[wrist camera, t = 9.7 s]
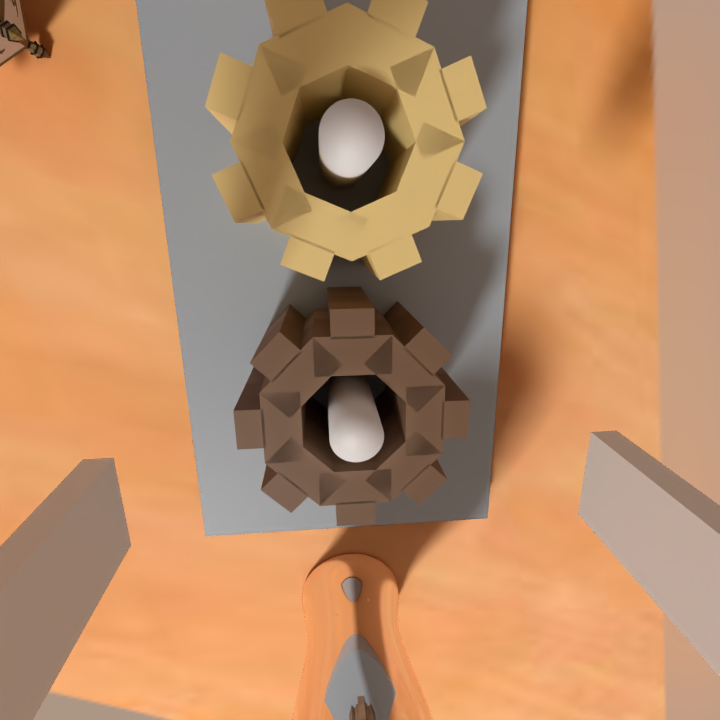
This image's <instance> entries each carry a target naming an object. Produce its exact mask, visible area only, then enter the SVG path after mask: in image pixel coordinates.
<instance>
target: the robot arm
mask: <svg viewBox="0 0 720 720" xmlns="http://www.w3.org/2000/svg"><path fill="white" fill-rule="evenodd" d="M578 514H579V516H580V517H581V518H582V519H583V520H584V521H585V523H586V524H587V525H588V526H589V527H590V528H591V529H592V531H593V532H594V533H595V534H596V535H597V536H598V537H599V539H600V540H601V541H602V542H603V543H604V544H605V546H606V547H607V548H608V549H609V550H610V551H611V552H612V554H613V555H614V556H615V557H616V558H617V559H618V560H619V562H620V563H621V564H622V565H623V566H624V567H625V568H626V570H627V571H628V572H629V573H630V574H631V575H632V577H633V578H634V579H635V580H636V581H637V582H638V583H639V585H640V586H641V587H642V588H643V589H644V590H645V591H646V593H647V594H648V595H649V596H650V597H651V598H652V599H653V601H654V602H655V603H656V604H657V605H658V606H659V608H660V609H661V610H662V611H663V612H664V613H665V614H666V616H667V617H668V618H669V619H670V620H671V621H672V622H673V624H674V625H675V626H676V627H677V628H678V629H679V631H680V632H681V633H682V634H683V635H684V636H685V637H686V639H687V640H688V641H689V642H690V643H691V644H692V645H693V647H694V648H695V649H696V650H697V651H698V652H699V653H700V655H701V656H702V657H703V658H704V659H705V660H706V662H707V663H708V664H709V665H710V666H711V667H712V668H713V670H714V671H715V672H716V673H717V674H718V675H719V676H720V505H718V504H717V503H716V502H714V501H713V500H711V499H710V498H708V497H707V496H706V495H704V494H703V493H702V492H700V491H699V490H697V489H696V488H695V487H693V486H692V485H691V484H689V483H688V482H686V481H685V480H684V479H682V478H681V477H680V476H678V475H677V474H675V473H674V472H673V471H671V470H670V469H669V468H667V467H666V466H664V465H663V464H662V463H660V462H659V461H658V460H656V459H655V458H653V457H652V456H651V455H649V454H648V453H646V452H645V451H644V450H642V449H641V448H640V447H638V446H637V445H635V444H634V443H633V442H631V441H630V440H629V439H627V438H626V437H624V436H623V435H622V434H620V433H619V432H617V431H604V432H591V436H590V442H589V448H588V455H587V461H586V467H585V474H584V480H583V486H582V493H581V499H580V505H579V511H578ZM130 546H131V543H130V538H129V533H128V528H127V523H126V518H125V513H124V508H123V503H122V498H121V493H120V488H119V483H118V478H117V473H116V468H115V463H114V458H103V459H84V460H82V461H81V462H80V463H79V464H78V465H77V466H76V467H75V469H74V470H73V471H72V472H71V473H70V474H69V475H68V476H67V477H66V478H65V479H64V480H63V481H62V482H61V483H60V484H59V485H58V486H57V487H56V489H55V490H54V491H53V492H52V493H51V494H50V495H49V496H48V497H47V498H46V499H45V500H44V501H43V502H42V503H41V504H40V505H39V506H38V507H37V509H36V510H35V511H34V512H33V513H32V514H31V515H30V516H29V517H28V518H27V519H26V520H25V521H24V522H23V523H22V524H21V525H20V526H19V527H18V528H17V530H16V531H15V532H14V533H13V534H12V535H11V536H10V537H9V538H8V539H7V540H6V541H5V542H4V543H3V544H2V545H1V546H0V720H33V719H34V717H35V715H36V713H37V711H38V710H39V708H40V706H41V704H42V703H43V701H44V699H45V697H46V695H47V694H48V692H49V690H50V688H51V687H52V685H53V683H54V681H55V679H56V678H57V676H58V674H59V672H60V670H61V669H62V667H63V665H64V663H65V662H66V660H67V658H68V656H69V654H70V653H71V651H72V649H73V647H74V646H75V644H76V642H77V640H78V638H79V637H80V635H81V633H82V631H83V629H84V628H85V626H86V624H87V622H88V621H89V619H90V617H91V615H92V613H93V612H94V610H95V608H96V606H97V605H98V603H99V601H100V599H101V597H102V596H103V594H104V592H105V590H106V588H107V587H108V585H109V583H110V581H111V580H112V578H113V576H114V574H115V572H116V571H117V569H118V567H119V565H120V564H121V562H122V560H123V558H124V556H125V555H126V553H127V551H128V549H129V547H130Z"/></svg>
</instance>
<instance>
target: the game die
mask: <svg viewBox="0 0 720 720" xmlns="http://www.w3.org/2000/svg"><path fill="white" fill-rule="evenodd" d="M24 49H28V50H29V51H30V52H31V54H32V55H33V54H34V55H35V56H37V58H50V56H49V55H48V54H47V52H46V51H45V49H44V47H43V45H39V44H37V42H36V41H34V42H32V41H29V39H28V33H27V28H26V22H25V17H24V11H23V5H22V0H0V66H2V65H3V64H4V63H6V62H7V61H9V60H10V59H12V58H13V57H14V56H16V55H17V54H19V53H20V52H21V51H23V50H24Z"/></svg>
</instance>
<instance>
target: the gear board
mask: <svg viewBox="0 0 720 720" xmlns="http://www.w3.org/2000/svg"><path fill="white" fill-rule="evenodd" d="M371 1H372V0H323V2H324V4H325V7H326V9H327V12H328V11H330V10H332V9H334V8H336V7H339V6H341V5H343V4H345V3H349V4H351V5H353V6H355V7H357V8H359V9H361V10H363V11H365V12H368V9H369V6H370V3H371ZM426 1H428V5H427V7H426V10H425V13H424V15H423V18H422V21H421V23H420V26H419V29H418V31H417V34H416V38H418V39H420V40H422V41H424V42H426V43H428V44H430V45H432V46H434V47H435V50H436V53H437V57H438V60H439V63H440V66H441V69H442V68H445V67H447V66H449V65H451V64H453V63H455V62H458V61H460V60H462V59H464V58H466V57H468V56H471V57H472V60H473V64H474V67H475V70H476V74H477V77H478V80H479V84H480V87H481V90H482V94H483V97H484V100H485V103H486V107H487V108H486V109H485V110H483V111H482V112H481V113H479V114H478V115H476V116H475V117H473V118H472V119H471V120H469V121H468V122H466V123H465V124H463V125H462V126H461V127H460V128H461V131H462V134H463V137H464V140H465V142H464V145H463V147H462V149H461V152H460V154H459V157H458V159H457V162H459V163H462V164H464V165H466V166H468V167H470V168H472V169H474V170H477V171H479V172H481V173H483V175H482V177H481V179H480V182H479V184H478V186H477V189H476V191H475V193H474V195H473V198H472V200H471V202H470V205H469V207H468V209H467V212H466V214H465V216H464V218H463V220H441V221H431V224H430V226H429V227H428V228H425V229H423V230H421V231H419V232H417V233H414V234H412V237H413V239H414V242H415V245H416V247H417V250H418V252H419V255H420V258H421V260H422V262H420V263H418V264H416V265H414V266H411V267H409V268H407V269H405V270H402V271H400V272H398V273H396V274H393V275H391V276H389V277H387V278H384V279H382V280H379V279H378V278H377V277H376V276H375V275H374V274H373V273H372V272H371V271H370V270H368V269H367V268H366V267H365V266H364V264H363V261H362V259H361V258H358V259H356V260H354V261H350V260H347V259H345V258H342V257H340V256H337V255H335V254H334V257H333V259H332V262H331V265H330V267H329V270H328V273H327V275H326V278H325V281H321V280H318V279H316V278H313V277H311V276H308V275H305V274H303V273H300V272H298V271H295V270H293V269H290V268H287V267H285V266H282V265H280V264H281V261H282V258H283V255H284V252H285V249H286V246H287V243H288V241H289V238H290V236H287V235H285V234H282V233H280V232H277V231H275V230H272V229H271V227H270V225H269V223H268V221H267V220H265V221H262V222H260V223H235V222H234V220H233V218H232V216H231V214H230V211H229V209H228V207H227V205H226V203H225V201H224V199H223V197H222V195H221V193H220V191H219V189H218V187H217V185H216V183H215V181H214V179H213V177H212V175H213V174H215V173H217V172H219V171H221V170H223V169H226V168H228V167H230V166H232V165H234V164H236V163H239V159H238V157H237V155H236V153H235V151H234V149H233V147H232V145H231V142H230V140H231V136H232V134H231V133H230V132H229V131H228V130H227V129H226V128H225V127H224V126H223V125H222V124H221V123H220V122H219V121H218V120H217V119H216V118H215V117H214V116H213V115H212V113H211V112H210V111H209V110H208V109H207V108H206V107H205V104H206V100H207V97H208V93H209V89H210V86H211V82H212V79H213V75H214V72H215V68H216V65H217V61H218V57H219V54H220V52H222V53H224V54H226V55H228V56H231V57H233V58H235V59H237V60H239V61H241V62H243V63H246V64H248V65H250V66H253V63H254V59H255V56H256V53H257V49H258V46H259V44H260V43H262V42H264V41H266V40H269V39H271V38H273V34H272V30H271V26H270V22H269V18H268V14H267V10H266V6H265V2H264V0H136V5H137V12H138V20H139V28H140V36H141V43H142V51H143V59H144V66H145V74H146V82H147V90H148V97H149V105H150V113H151V120H152V128H153V136H154V144H155V151H156V159H157V167H158V174H159V182H160V190H161V197H162V205H163V213H164V221H165V228H166V236H167V244H168V251H169V259H170V267H171V275H172V282H173V290H174V298H175V305H176V313H177V321H178V329H179V336H180V344H181V352H182V359H183V367H184V375H185V382H186V390H187V398H188V406H189V413H190V421H191V429H192V436H193V444H194V452H195V460H196V467H197V475H198V483H199V490H200V498H201V506H202V514H203V521H204V529H205V536H219V535H235V534H250V533H266V532H281V531H297V530H312V529H328V528H343V527H359V526H374V525H390V524H405V523H421V522H436V521H452V520H467V519H483V518H488V506H489V493H490V480H491V467H492V454H493V441H494V428H495V415H496V402H497V389H498V376H499V363H500V350H501V337H502V324H503V312H504V299H505V286H506V273H507V260H508V247H509V234H510V221H511V208H512V195H513V182H514V169H515V156H516V143H517V131H518V118H519V105H520V92H521V79H522V66H523V53H524V40H525V27H526V14H527V1H528V0H426ZM384 140H385V131H384V126H383V122H382V120H381V118H380V116H379V114H378V113H377V111H376V110H375V109H374V108H373V107H372V106H371V105H369V104H368V103H366V102H364V101H362V100H359V99H353V98H349V99H343V100H340V101H338V102H336V103H334V104H333V105H332V106H330V107H329V108H328V109H327V111H326V112H325V113H324V115H323V117H322V119H321V120H319V121H317V122H315V123H313V124H311V125H308V126H306V127H305V130H304V133H303V136H302V139H301V142H300V145H299V148H298V151H297V154H296V157H295V160H294V163H293V167H294V169H295V171H296V174H297V176H298V178H299V180H300V183H301V185H302V187H303V189H304V192H305V193H307V194H309V195H312V196H314V197H317V198H319V199H321V200H324V201H326V202H328V203H331V204H333V205H336V206H338V207H340V208H343V209H345V210H347V211H350V212H351V211H354V210H356V209H358V208H360V207H362V206H365V205H367V204H369V203H371V202H373V201H376V198H377V195H378V193H379V190H380V188H381V185H382V182H383V180H384V177H385V175H386V172H387V169H388V167H389V162H388V159H387V157H386V154H385V151H384V149H383V145H384ZM359 286H360V287H361V288H362V290H363V291H364V293H365V294H366V296H367V297H368V299H369V300H370V302H371V303H372V305H373V307H375V308H376V309H377V310H378V311H379V312H380V313H381V314H382V315H384V314H385V313H386V312H387V311H388V310H389V309H390V308H391V307H392V306H393V305H394V304H395V303H396V302H397V301H398V302H399V303H400V304H401V305H402V306H403V307H404V308H405V309H406V310H407V311H408V312H409V313H410V314H411V315H412V316H413V317H414V318H415V319H416V320H417V321H418V322H419V323H420V324H421V325H422V326H423V327H424V328H425V329H426V330H427V331H428V332H429V333H430V334H431V335H432V336H433V337H434V338H435V339H437V340H438V341H439V342H440V343H441V344H442V345H443V346H444V347H445V348H446V349H447V350H448V351H449V352H450V353H451V354H452V355H453V356H452V357H451V358H450V359H449V360H448V361H447V362H446V363H445V364H444V365H443V366H442V368H443V369H444V370H445V371H446V373H447V374H448V375H449V376H450V377H451V379H452V380H453V381H454V382H455V383H456V384H457V386H458V387H459V388H460V389H461V390H462V391H463V393H464V394H465V395H466V396H467V397H468V398H469V400H470V410H469V427H468V438H457V439H443V452H442V455H441V456H440V457H439V458H438V459H437V460H438V462H439V464H440V466H441V468H442V470H443V472H444V474H445V476H446V478H447V480H446V481H445V482H444V483H443V484H442V485H441V486H440V487H439V488H437V489H436V490H435V491H434V492H433V493H432V494H431V495H430V496H429V497H428V498H427V499H425V500H424V501H423V502H422V503H421V504H420V505H418V504H417V503H416V502H415V501H414V500H412V499H411V498H410V497H409V496H408V495H406V494H405V493H404V492H403V491H402V492H401V493H400V494H399V495H398V496H397V497H396V498H395V499H394V500H393V501H391V502H379V503H375V524H363V525H347V526H337V521H336V505H329V506H319V505H318V504H317V503H315V502H314V501H313V500H312V499H310V498H309V497H307V498H306V499H305V500H304V501H303V502H302V503H301V504H300V505H299V506H298V507H297V508H296V509H295V510H294V511H293V512H292V513H290V512H289V511H288V510H286V509H285V508H284V507H282V506H281V505H280V504H278V503H277V502H276V501H274V500H273V499H272V498H270V497H269V496H268V495H266V494H265V493H264V492H262V491H261V487H262V482H263V478H264V473H265V469H266V464H265V458H264V448H259V449H239V450H237V443H236V433H235V423H234V413H233V410H234V408H235V406H236V404H237V402H238V400H239V397H240V395H241V393H242V391H243V389H244V387H245V385H246V382H247V380H248V378H249V376H250V374H251V372H252V370H253V367H254V366H252V365H251V364H250V362H251V360H252V358H253V356H254V354H255V352H256V350H257V348H258V346H259V344H260V342H261V340H262V338H263V336H264V334H265V332H266V330H267V328H268V327H269V326H270V325H271V324H272V323H273V322H274V321H275V319H276V318H277V317H278V316H279V315H280V314H281V313H282V312H283V311H284V310H285V309H286V308H287V307H288V305H289V304H291V305H292V306H293V307H294V308H295V309H296V310H297V311H298V312H300V313H301V314H302V315H303V316H304V317H305V318H306V317H307V316H308V315H309V314H310V313H311V311H312V310H313V309H314V308H328V295H327V287H359ZM384 389H385V383H384V382H383V381H382V380H381V379H380V378H379V377H378V376H377V375H352V376H331V377H330V378H329V379H328V380H327V381H326V382H325V383H324V384H323V385H322V386H321V387H320V388H319V389H318V390H317V391H316V392H315V393H314V394H313V395H312V397H313V398H315V399H316V400H317V401H318V402H319V403H320V404H322V405H323V406H324V407H325V408H326V409H327V410H328V419H329V441H330V445H331V448H332V450H333V451H334V453H335V454H336V455H337V456H338V457H340V458H341V459H343V460H346V461H349V462H362V461H366V460H368V459H370V458H372V457H373V456H375V455H376V454H377V453H378V452H379V450H380V449H381V447H382V445H383V442H384V431H383V427H382V424H381V421H380V418H379V414H378V411H377V408H376V405H375V401H374V399H375V398H376V397H377V396H378V395H379V394H380V393H381V392H382V391H383V390H384Z"/></svg>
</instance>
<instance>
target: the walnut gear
mask: <svg viewBox="0 0 720 720" xmlns="http://www.w3.org/2000/svg"><path fill="white" fill-rule="evenodd" d="M327 295H328V308H314V309H313V310H312V311H311V313H310V314H309V315H308V316H307V317H306V318H305V317H304V316H303V315H302V314H301V313H300V312H298V311H297V310H296V309H295V308H294V307H293V306H292V305H291V304H289V305H288V307H287V308H286V309H285V310H284V311H283V312H282V313H281V314H280V315H279V316H278V317H277V318H276V319H275V321H274V322H273V323H272V324H271V325H270V326H269V327H268V328H267V330H266V332H265V334H264V336H263V338H262V340H261V342H260V344H259V346H258V348H257V350H256V352H255V354H254V356H253V358H252V360H251V362H250V364H251V365H252V366H254V367H253V370H252V372H251V374H250V376H249V378H248V380H247V382H246V385H245V387H244V389H243V391H242V393H241V395H240V397H239V400H238V402H237V404H236V406H235V408H234V410H233V413H234V423H235V433H236V443H237V450H239V449H259V448H264V458H265V464H266V469H265V473H264V478H263V482H262V487H261V491H262V492H264V493H265V494H266V495H268V496H269V497H270V498H272V499H273V500H274V501H276V502H277V503H278V504H280V505H281V506H282V507H284V508H285V509H286V510H288V511H289V512H290V513H292V512H293V511H294V510H295V509H296V508H297V507H298V506H299V505H300V504H301V503H302V502H303V501H304V500H305V499H306V498H307V497H309V498H310V499H312V500H313V501H314V502H315V503H317V504H318V505H319V506H329V505H336V521H337V526H347V525H363V524H375V503H379V502H391V501H393V500H394V499H395V498H396V497H397V496H398V495H399V494H400V493H401V492H402V491H403V492H404V493H405V494H406V495H408V496H409V497H410V498H411V499H412V500H414V501H415V502H416V503H417V504H418V505H420V504H421V503H422V502H423V501H424V500H425V499H427V498H428V497H429V496H430V495H431V494H432V493H433V492H434V491H435V490H436V489H437V488H439V487H440V486H441V485H442V484H443V483H444V482H445V481H446V480H447V478H446V476H445V474H444V472H443V470H442V468H441V466H440V464H439V462H438V460H437V459H438V458H439V457H440V456H441V455H442V452H443V439H457V438H468V427H469V410H470V400H469V398H468V397H467V396H466V395H465V394H464V393H463V391H462V390H461V389H460V388H459V387H458V386H457V384H456V383H455V382H454V381H453V380H452V379H451V377H450V376H449V375H448V374H447V373H446V371H445V370H444V369H443V368H442V366H443V365H444V364H445V363H446V362H447V361H448V360H449V359H450V358H451V357H452V356H453V355H452V354H451V353H450V352H449V351H448V350H447V349H446V348H445V347H444V346H443V345H442V344H441V343H440V342H439V341H438V340H437V339H435V338H434V337H433V336H432V335H431V334H430V333H429V332H428V331H427V330H426V329H425V328H424V327H423V326H422V325H421V324H420V323H419V322H418V321H417V320H416V319H415V318H414V317H413V316H412V315H411V314H410V313H409V312H408V311H407V310H406V309H405V308H404V307H403V306H402V305H401V304H400V303H399V302H398V301H397V302H396V303H395V304H394V305H393V306H392V307H391V308H390V309H389V310H388V311H387V312H386V313H385V314H384V315H382V314H381V313H380V312H379V311H378V310H377V309H376V308H375V307H373V305H372V303H371V302H370V300H369V299H368V297H367V296H366V294H365V293H364V291H363V290H362V288H361V287H360V286H359V287H327ZM352 375H377V376H378V377H379V378H380V379H381V380H382V381H383V382H384V383H385V389H384V390H383V391H382V392H381V393H380V394H379V395H378V396H377V397H376V398H375V399H374V401H375V405H376V408H377V411H378V414H379V418H380V421H381V424H382V427H383V431H384V442H383V445H382V447H381V449H380V450H379V452H378V453H377V454H376V455H375V456H373V457H372V458H370V459H368V460H366V461H362V462H349V461H346V460H343V459H341V458H340V457H338V456H337V455H336V454H335V453H334V451H333V450H332V448H331V445H330V441H329V419H328V410H327V409H326V408H325V407H324V406H323V405H322V404H320V403H319V402H318V401H317V400H316V399H315V398H313V397H312V395H313V394H314V393H315V392H316V391H317V390H318V389H319V388H320V387H321V386H322V385H323V384H324V383H325V382H326V381H327V380H328V379H329V378H330V377H331V376H352Z"/></svg>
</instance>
